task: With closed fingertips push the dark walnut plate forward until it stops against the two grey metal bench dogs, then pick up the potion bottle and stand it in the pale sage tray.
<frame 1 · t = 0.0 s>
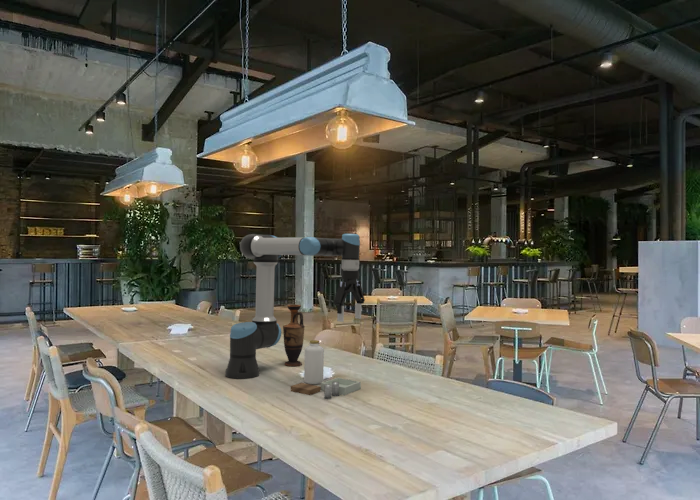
hand: (349, 320, 213), 28 cm above the table, fingers open, 13 cm apart
potion bottle: (313, 383, 217), on the table
vase: (293, 365, 252), on the table
tray: (340, 389, 206), on the table
bench dogs: (331, 396, 196), on the table
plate: (305, 392, 203), on the table
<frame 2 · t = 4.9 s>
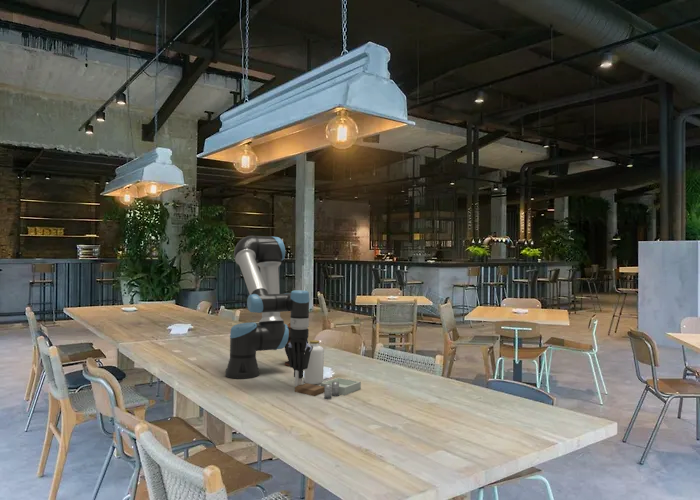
hand: (298, 385, 205), 2 cm above the table, fingers closed
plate: (310, 392, 202), on the table
everything else where it was.
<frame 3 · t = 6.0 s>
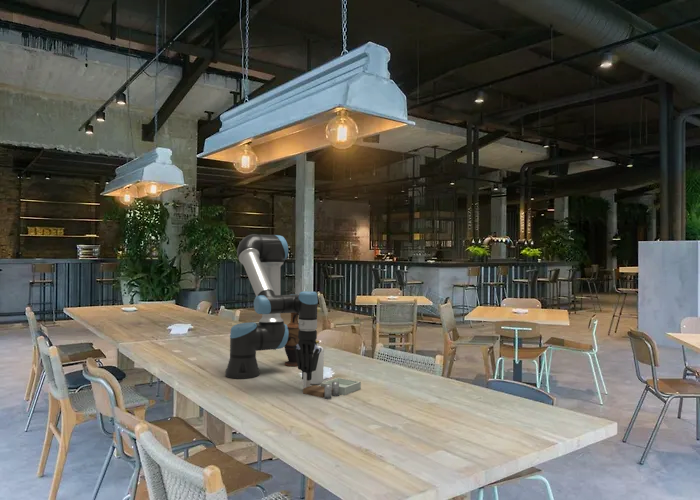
hand: (306, 387, 203), 1 cm above the table, fingers closed
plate: (318, 394, 200), on the table
everything else where it was.
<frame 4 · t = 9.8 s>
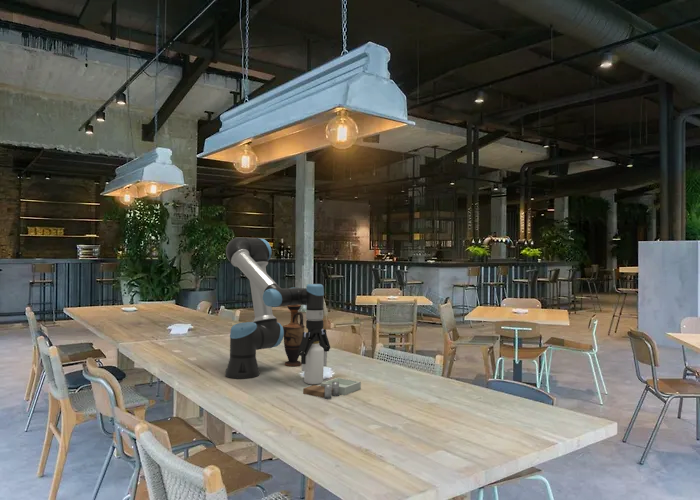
hand: (314, 368, 217), 6 cm above the table, fingers open, 13 cm apart
nothing on the table moved.
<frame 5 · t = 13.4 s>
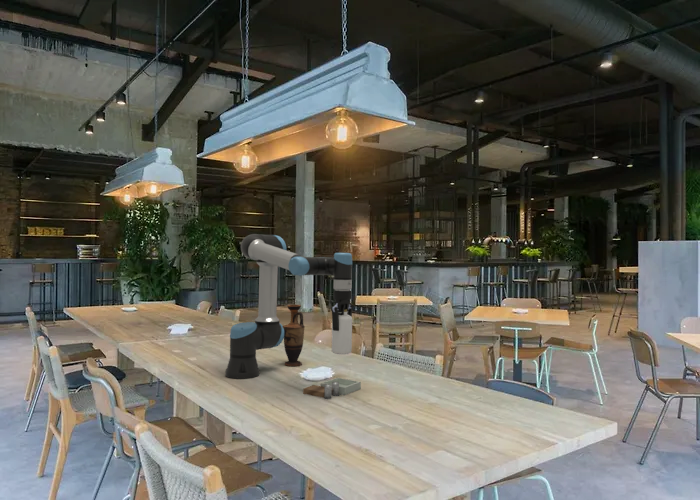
hand: (341, 346, 206), 18 cm above the table, fingers open, 2 cm apart
potion bottle: (341, 353, 206), point 15 cm above the table, touching hand
everything else where it was.
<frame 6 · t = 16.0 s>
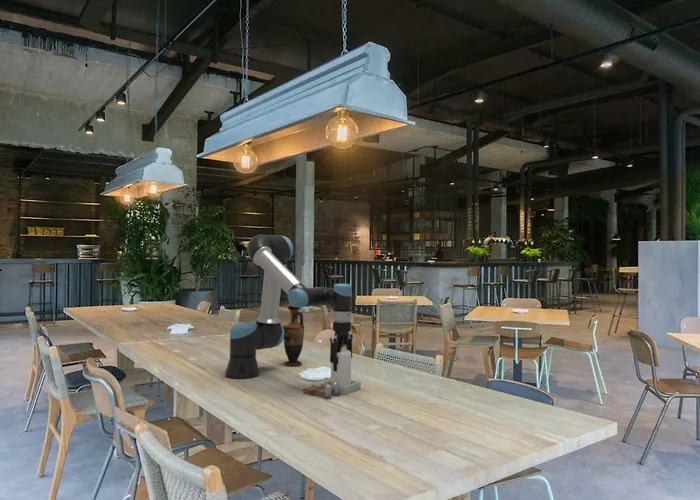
hand: (340, 377, 206), 5 cm above the table, fingers open, 5 cm apart
potion bottle: (340, 388, 206), resting on tray
everything else where it was.
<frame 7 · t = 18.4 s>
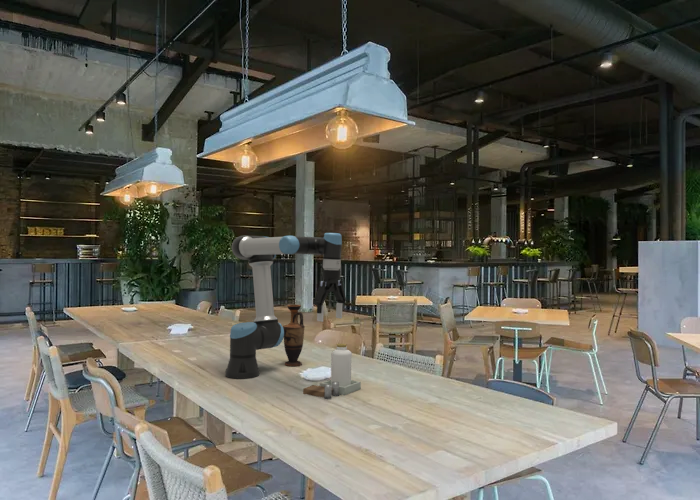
hand: (329, 319, 211), 28 cm above the table, fingers open, 13 cm apart
nothing on the table moved.
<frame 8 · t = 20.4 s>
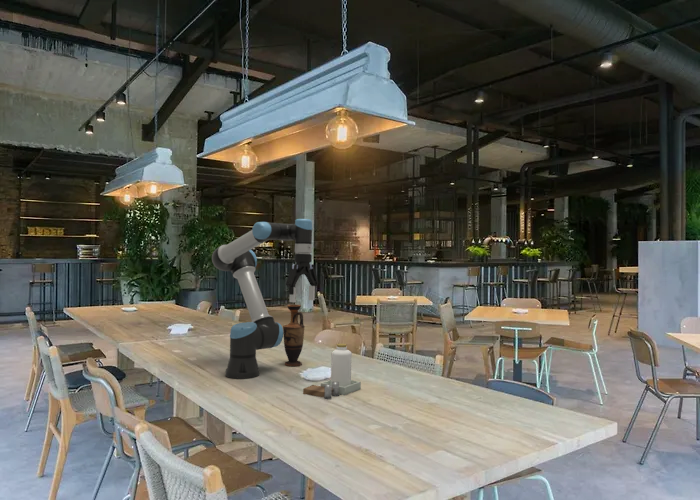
hand: (302, 301, 223), 35 cm above the table, fingers open, 13 cm apart
nothing on the table moved.
at the end: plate 0.8 cm from the target spot, on the table; potion bottle inside the target area on the tray (0.1 cm from its centre), point 0.4 cm above the tray's base; potion bottle tilted 0° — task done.
